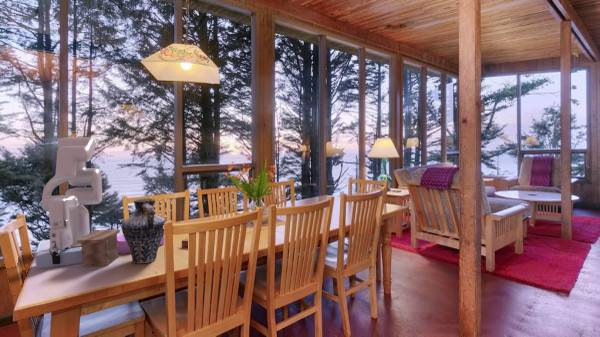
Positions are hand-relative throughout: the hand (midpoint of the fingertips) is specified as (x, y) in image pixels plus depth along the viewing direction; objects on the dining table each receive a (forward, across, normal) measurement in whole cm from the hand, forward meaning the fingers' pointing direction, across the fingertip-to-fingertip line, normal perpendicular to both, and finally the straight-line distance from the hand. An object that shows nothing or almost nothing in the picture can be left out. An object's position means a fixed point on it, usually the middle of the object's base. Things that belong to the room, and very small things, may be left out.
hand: (62, 260), depth 159 cm
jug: (+2, 0, -38) cm, 38 cm away
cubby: (+1, 0, -17) cm, 17 cm away
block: (+1, 0, 0) cm, 1 cm away
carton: (+2, +26, -56) cm, 62 cm away
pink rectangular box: (+2, +22, -28) cm, 36 cm away
